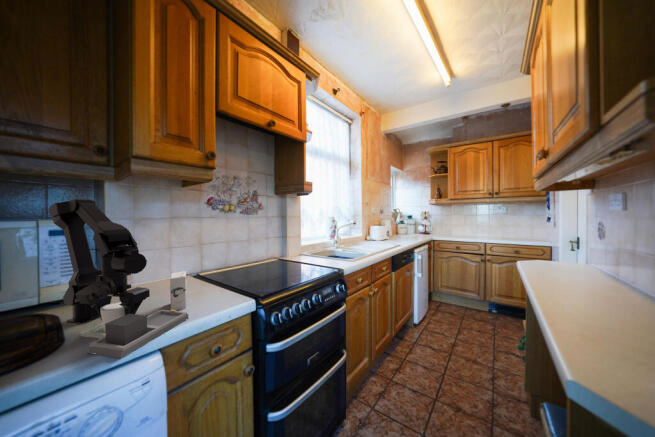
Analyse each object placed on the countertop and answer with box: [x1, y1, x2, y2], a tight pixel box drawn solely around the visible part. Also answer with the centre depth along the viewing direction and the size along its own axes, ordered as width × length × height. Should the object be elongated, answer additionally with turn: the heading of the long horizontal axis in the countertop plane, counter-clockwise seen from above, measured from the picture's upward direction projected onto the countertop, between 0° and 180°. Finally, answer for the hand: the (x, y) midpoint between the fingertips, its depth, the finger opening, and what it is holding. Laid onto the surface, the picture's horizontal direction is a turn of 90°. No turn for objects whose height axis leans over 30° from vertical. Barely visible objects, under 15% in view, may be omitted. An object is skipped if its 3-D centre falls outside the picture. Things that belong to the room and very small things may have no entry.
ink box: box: [169, 270, 187, 311], centre depth 87 cm, size 9×5×12 cm, turn 31°
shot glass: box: [100, 301, 125, 333], centre depth 71 cm, size 7×7×7 cm
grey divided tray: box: [87, 309, 189, 359], centre depth 68 cm, size 10×21×6 cm, turn 169°
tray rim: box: [79, 323, 106, 339], centre depth 71 cm, size 11×11×1 cm
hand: (116, 321), depth 71 cm, fingers open, 9 cm apart
